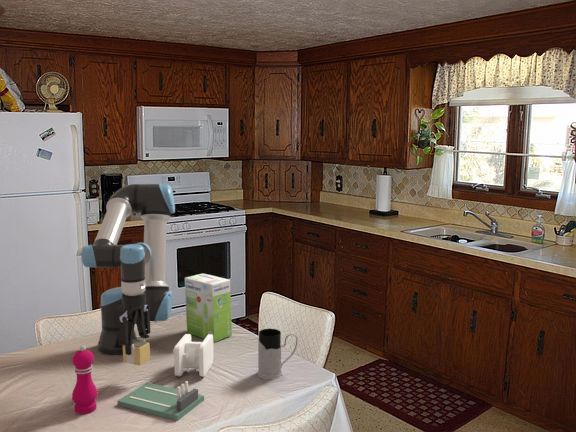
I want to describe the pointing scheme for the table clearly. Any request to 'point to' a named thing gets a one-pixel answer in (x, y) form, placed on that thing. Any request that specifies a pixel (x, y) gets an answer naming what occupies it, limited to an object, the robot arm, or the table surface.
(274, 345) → the grey mug
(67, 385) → the table surface
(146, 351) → the plug block
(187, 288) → the toothbrush box
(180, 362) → the cable organizer
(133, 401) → the board
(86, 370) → the pepper mill
